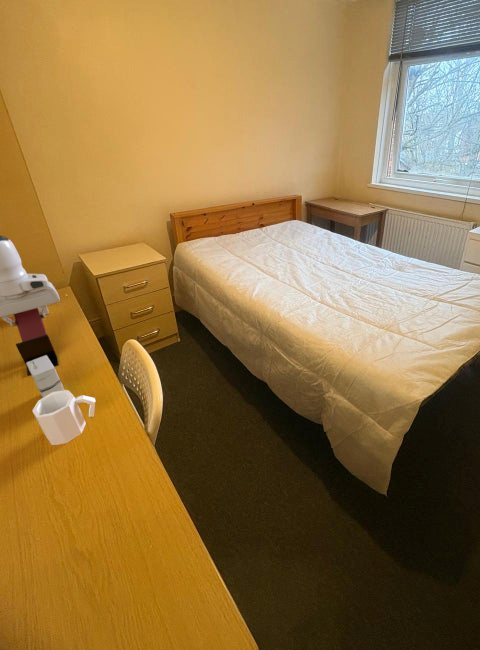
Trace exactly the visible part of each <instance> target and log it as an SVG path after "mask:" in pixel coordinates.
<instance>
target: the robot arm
mask: <svg viewBox="0 0 480 650" xmlns="http://www.w3.org/2000/svg"><path fill="white" fill-rule="evenodd" d="M60 301H61V298H60V295H59V293H58V291H57V289H56V287H55V285H54V284H53V283H52V282H50V281H49V279H48V277H47V275H46V274H44V273H27V271H26V269H25V268H24V267H23V264H22V259H21V256H20V254H19V252H18V249H17V248H16V246H15V244H14V243H13V242H12V240H10V238H8V237H7V236H4V235H0V319H2V321H3V322H6V323H8V324H9V325H10V327H11V328H13V327H18V326H17V323H16V320H15V318H14V319H12V318H10V317H9V316H13V315H14V314H16V313H20V312H24V311H28V310H32V309H35V308H39V307H41V309H42V312H40V313H39V316H40V318H41V319H42V320H43V319H46V318H47V316H46V315H47V314H46V315H45V311H46V309H48V306H50V305H54V304H58V303H60ZM46 306H47V308H46Z"/></svg>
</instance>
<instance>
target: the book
mask: <svg viewBox="0 0 480 650" xmlns="http://www.w3.org/2000/svg"><path fill="white" fill-rule="evenodd" d="M39 313H40V311H39V309H38V308H35V309H32V310H28V311H24V312H20V313H16V314H13V317H14V319H15V320H16V323H17V326H16V327H17V329H18V333H19V336H20V339H21V342H24V341H27V340H31V339H34V338H37V337H41V336H44V335H48V332H47V329H46V325H45V323H44V321H43V318H42V319H41V318H40V316H39Z"/></svg>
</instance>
